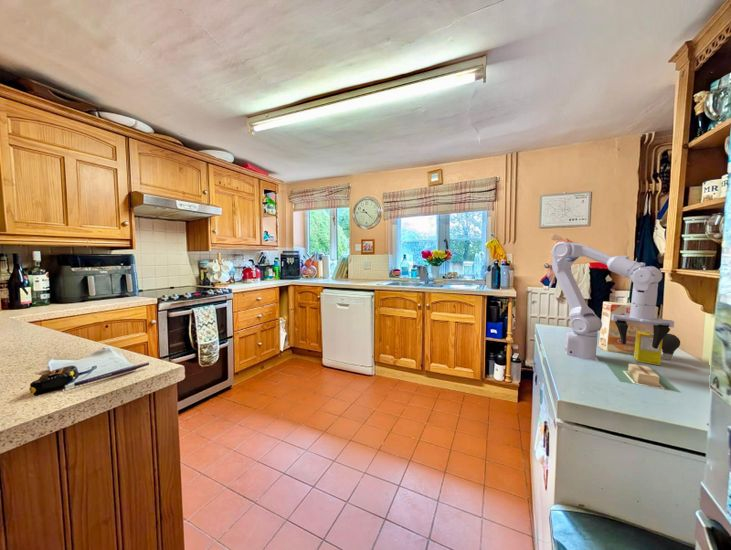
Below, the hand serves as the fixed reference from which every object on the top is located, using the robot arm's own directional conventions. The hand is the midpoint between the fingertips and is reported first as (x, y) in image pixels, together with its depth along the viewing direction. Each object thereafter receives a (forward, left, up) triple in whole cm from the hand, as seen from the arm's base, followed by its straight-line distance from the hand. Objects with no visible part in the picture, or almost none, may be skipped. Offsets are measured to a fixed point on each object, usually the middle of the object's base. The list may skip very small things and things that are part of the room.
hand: (638, 345), depth 94 cm
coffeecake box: (+3, +25, -9) cm, 27 cm away
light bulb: (+14, +22, -9) cm, 28 cm away
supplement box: (+6, +14, -9) cm, 18 cm away
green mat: (-1, -4, -9) cm, 10 cm away
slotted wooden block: (-1, -8, -9) cm, 11 cm away
